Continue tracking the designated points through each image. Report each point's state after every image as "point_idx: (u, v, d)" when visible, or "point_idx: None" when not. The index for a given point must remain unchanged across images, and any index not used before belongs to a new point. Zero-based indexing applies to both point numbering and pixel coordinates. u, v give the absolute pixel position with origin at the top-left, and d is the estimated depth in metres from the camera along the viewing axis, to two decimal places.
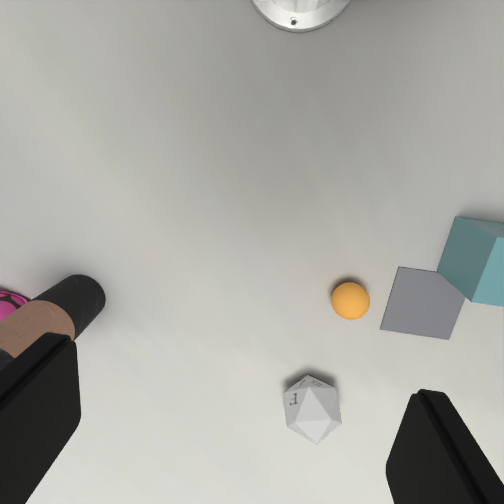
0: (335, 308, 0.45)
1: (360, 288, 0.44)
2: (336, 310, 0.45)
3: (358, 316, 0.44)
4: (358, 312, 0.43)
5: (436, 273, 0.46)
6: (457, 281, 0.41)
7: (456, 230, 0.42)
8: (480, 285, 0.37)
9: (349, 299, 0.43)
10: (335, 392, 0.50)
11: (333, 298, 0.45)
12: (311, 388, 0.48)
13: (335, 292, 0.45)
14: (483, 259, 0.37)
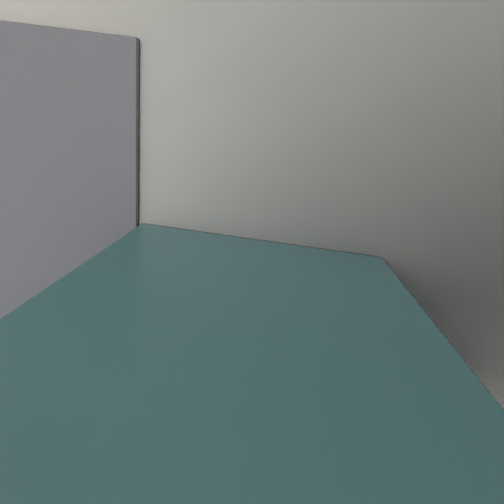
0: None
1: None
2: None
3: None
4: None
5: (132, 222, 0.11)
6: (77, 304, 0.06)
7: (340, 265, 0.09)
8: None
9: None
10: None
11: None
12: None
13: None
14: None
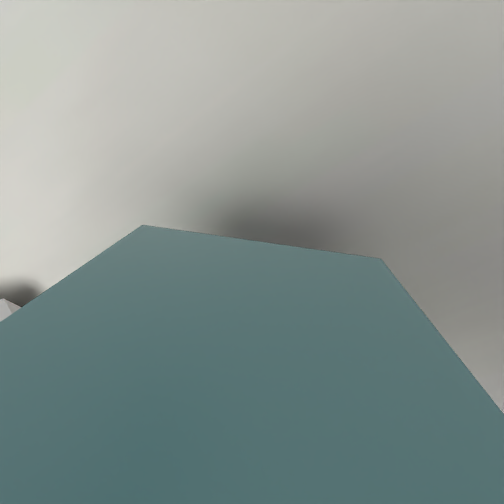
0: None
1: None
2: None
3: None
4: None
5: None
6: (77, 306, 0.06)
7: (339, 266, 0.10)
8: None
9: None
10: None
11: None
12: None
13: None
14: None
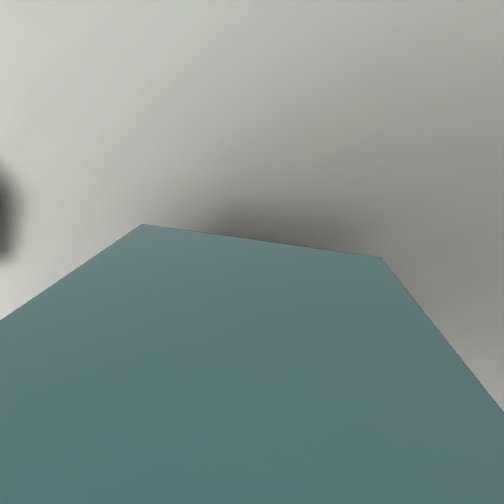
0: None
1: None
2: None
3: None
4: None
5: None
6: (77, 305, 0.06)
7: (339, 265, 0.09)
8: None
9: None
10: None
11: None
12: None
13: None
14: None
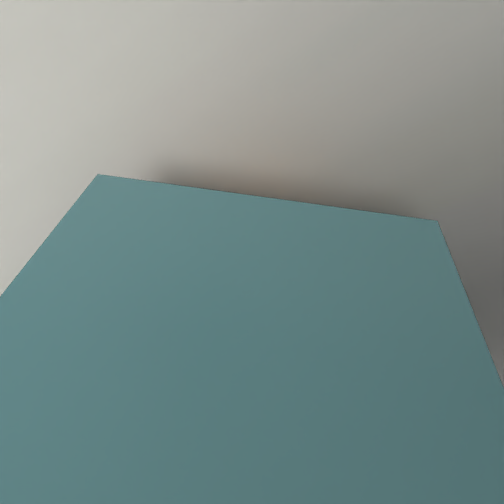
0: None
1: None
2: None
3: None
4: None
5: None
6: None
7: (376, 251, 0.07)
8: None
9: None
10: None
11: None
12: None
13: None
14: None
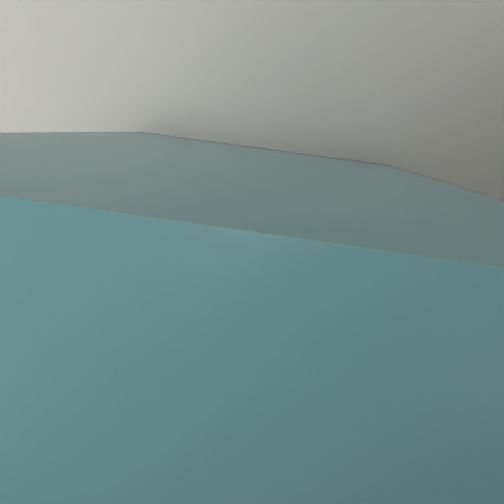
0: None
1: None
2: None
3: None
4: None
5: None
6: (66, 139, 0.05)
7: (349, 162, 0.09)
8: None
9: None
10: None
11: None
12: None
13: None
14: (349, 218, 0.03)
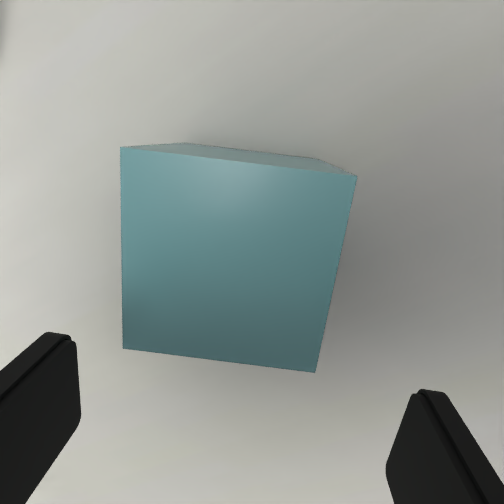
0: None
1: None
2: None
3: None
4: None
5: None
6: (175, 147, 0.14)
7: (293, 157, 0.18)
8: (184, 163, 0.11)
9: None
10: None
11: None
12: None
13: None
14: (269, 163, 0.11)
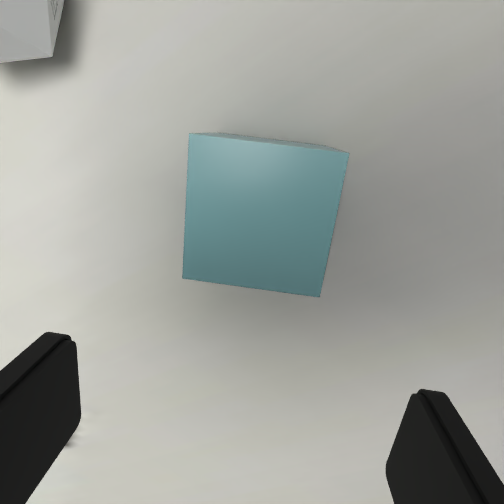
0: None
1: None
2: None
3: None
4: None
5: None
6: None
7: (305, 143, 0.23)
8: (231, 144, 0.16)
9: None
10: (41, 49, 0.20)
11: None
12: None
13: None
14: (289, 145, 0.17)
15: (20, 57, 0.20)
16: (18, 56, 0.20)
